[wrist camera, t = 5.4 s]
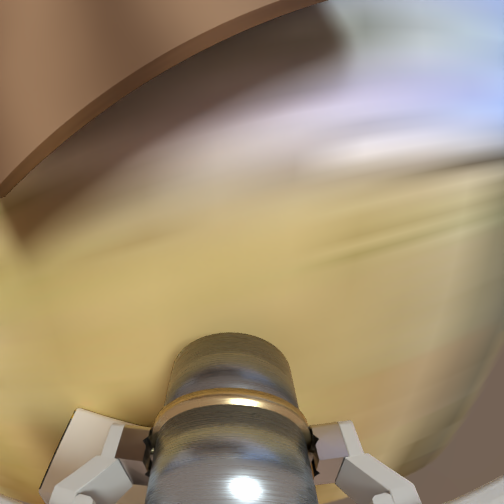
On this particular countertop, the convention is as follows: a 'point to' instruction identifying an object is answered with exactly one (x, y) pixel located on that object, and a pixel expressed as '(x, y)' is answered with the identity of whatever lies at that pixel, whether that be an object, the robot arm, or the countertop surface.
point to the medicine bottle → (83, 453)
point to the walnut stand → (97, 61)
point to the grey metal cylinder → (231, 428)
